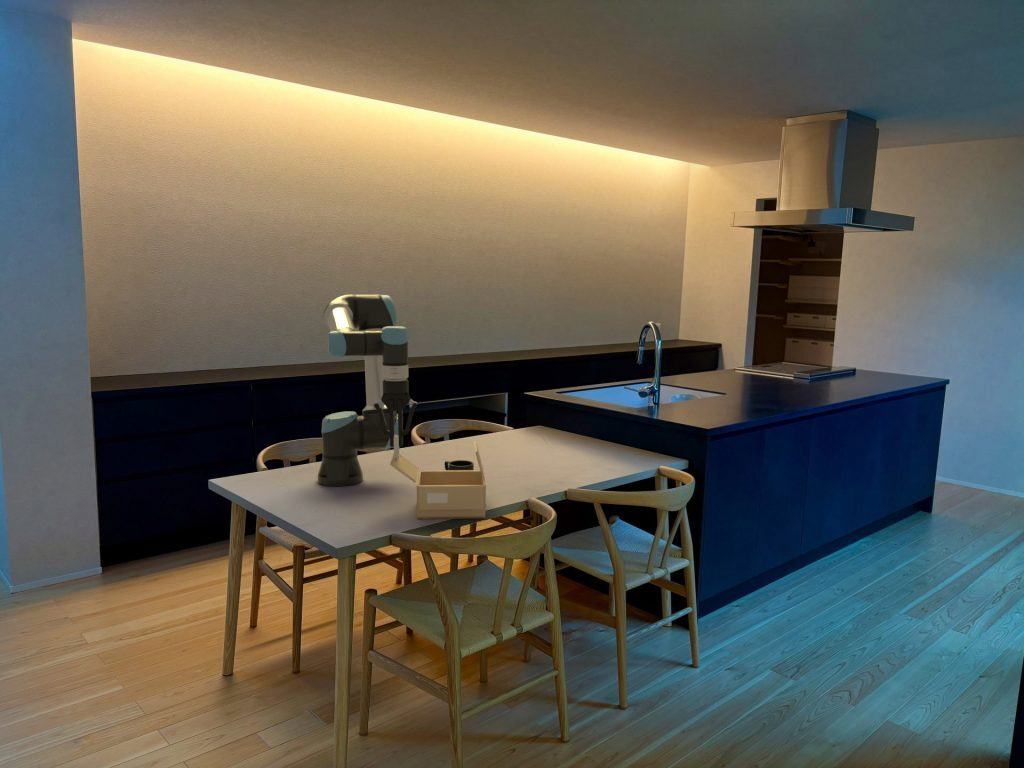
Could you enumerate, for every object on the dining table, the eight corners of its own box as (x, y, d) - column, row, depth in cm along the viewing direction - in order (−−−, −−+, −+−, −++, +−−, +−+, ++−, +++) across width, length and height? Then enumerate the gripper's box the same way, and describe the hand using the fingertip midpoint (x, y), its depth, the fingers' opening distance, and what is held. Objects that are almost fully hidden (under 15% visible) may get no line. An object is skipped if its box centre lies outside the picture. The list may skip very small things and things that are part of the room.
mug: (455, 483, 250) (456, 456, 249) (478, 491, 242) (478, 463, 240) (436, 488, 245) (436, 460, 243) (458, 496, 236) (459, 467, 235)
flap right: (482, 467, 229) (475, 439, 227) (484, 480, 214) (477, 451, 213) (481, 467, 229) (473, 440, 227) (482, 480, 214) (475, 451, 213)
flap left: (414, 482, 213) (389, 464, 211) (417, 469, 227) (393, 452, 226) (416, 481, 213) (391, 463, 211) (418, 467, 227) (395, 450, 226)
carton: (416, 519, 213) (416, 486, 211) (419, 501, 230) (419, 470, 229) (485, 519, 215) (485, 486, 213) (483, 500, 232) (483, 470, 230)
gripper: (371, 381, 211) (373, 460, 214) (417, 380, 212) (418, 460, 216) (374, 377, 218) (376, 454, 222) (418, 377, 219) (419, 454, 223)
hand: (396, 457), depth 219 cm, fingers closed
